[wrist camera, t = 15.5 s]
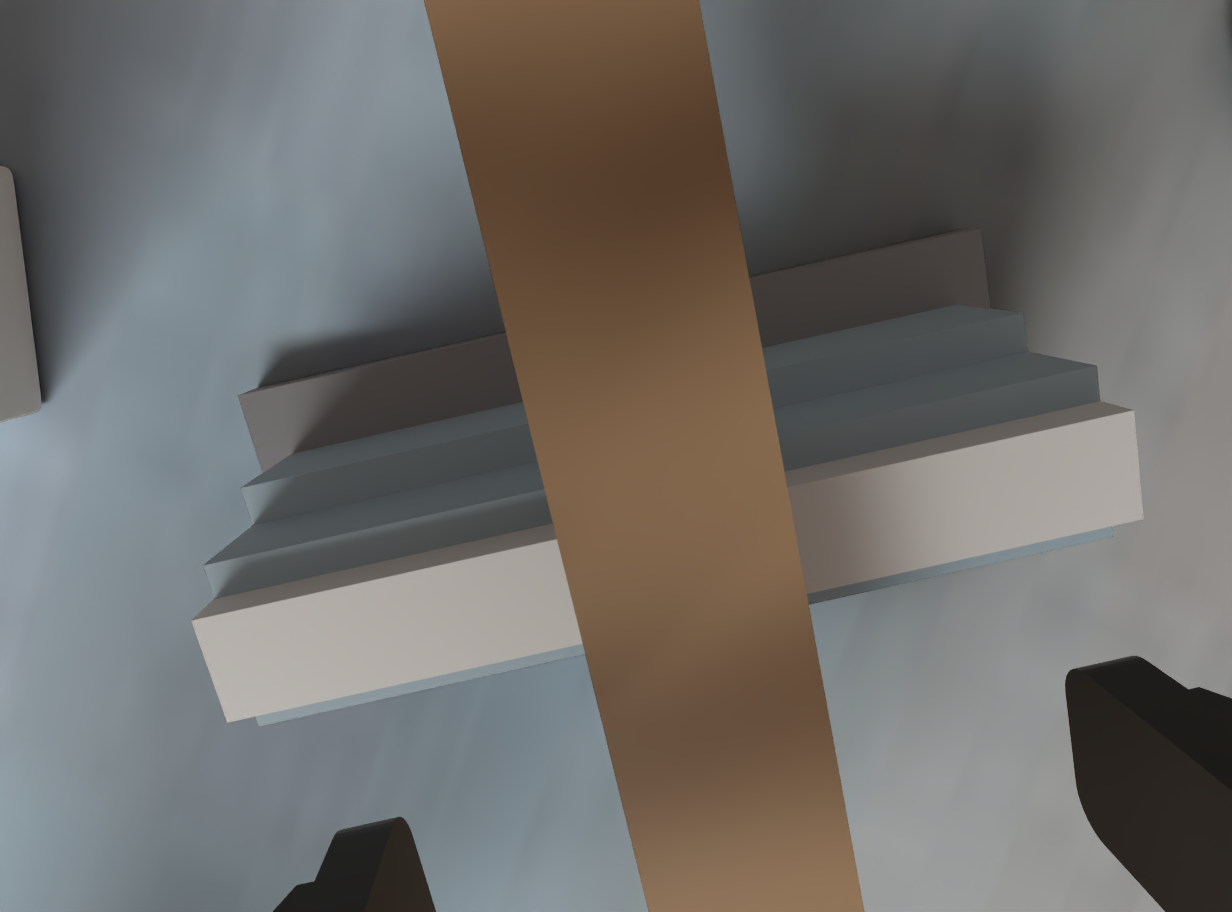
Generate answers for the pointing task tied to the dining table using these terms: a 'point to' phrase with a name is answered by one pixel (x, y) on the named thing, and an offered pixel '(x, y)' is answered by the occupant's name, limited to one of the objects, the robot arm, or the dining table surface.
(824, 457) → the fulcrum ridge
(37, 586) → the dining table surface
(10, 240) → the milk carton
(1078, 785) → the robot arm
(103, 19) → the dining table surface
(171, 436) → the dining table surface
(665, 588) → the walnut plank
